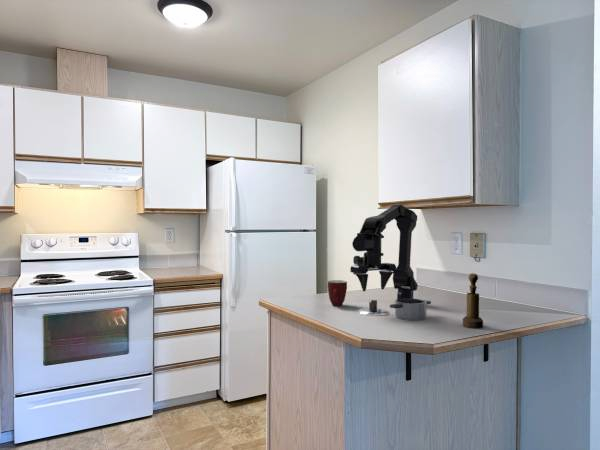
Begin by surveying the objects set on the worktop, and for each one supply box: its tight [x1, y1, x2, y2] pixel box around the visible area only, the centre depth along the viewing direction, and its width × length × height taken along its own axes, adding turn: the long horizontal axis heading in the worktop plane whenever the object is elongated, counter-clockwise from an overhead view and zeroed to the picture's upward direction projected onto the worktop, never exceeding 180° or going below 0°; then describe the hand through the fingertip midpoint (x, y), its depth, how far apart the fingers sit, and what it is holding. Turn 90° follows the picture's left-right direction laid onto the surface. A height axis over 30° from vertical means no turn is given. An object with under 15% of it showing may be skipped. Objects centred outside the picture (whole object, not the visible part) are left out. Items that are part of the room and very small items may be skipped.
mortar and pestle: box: [462, 272, 484, 329], centre depth 147 cm, size 7×6×18 cm
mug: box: [327, 279, 348, 307], centre depth 179 cm, size 10×8×10 cm
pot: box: [389, 298, 432, 322], centre depth 159 cm, size 18×11×6 cm, turn 121°
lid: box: [357, 299, 389, 317], centre depth 167 cm, size 12×12×5 cm
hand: (373, 290), depth 167 cm, fingers open, 9 cm apart
